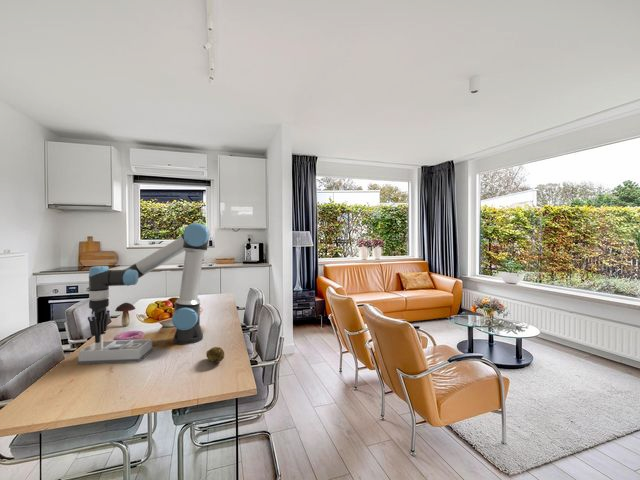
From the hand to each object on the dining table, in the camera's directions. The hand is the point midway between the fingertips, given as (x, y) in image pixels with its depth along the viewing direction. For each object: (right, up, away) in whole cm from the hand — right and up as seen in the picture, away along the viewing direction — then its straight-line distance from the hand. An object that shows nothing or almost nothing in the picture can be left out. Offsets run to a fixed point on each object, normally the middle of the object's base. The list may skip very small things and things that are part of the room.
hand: (99, 348), depth 141 cm
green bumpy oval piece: (+57, -5, -5) cm, 57 cm away
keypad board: (+8, -4, +1) cm, 9 cm away
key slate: (+8, -1, +1) cm, 8 cm away
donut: (+2, -5, +19) cm, 20 cm away
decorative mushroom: (-20, -4, +49) cm, 53 cm away
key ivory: (+16, -2, +2) cm, 16 cm away
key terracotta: (0, -3, 0) cm, 3 cm away
